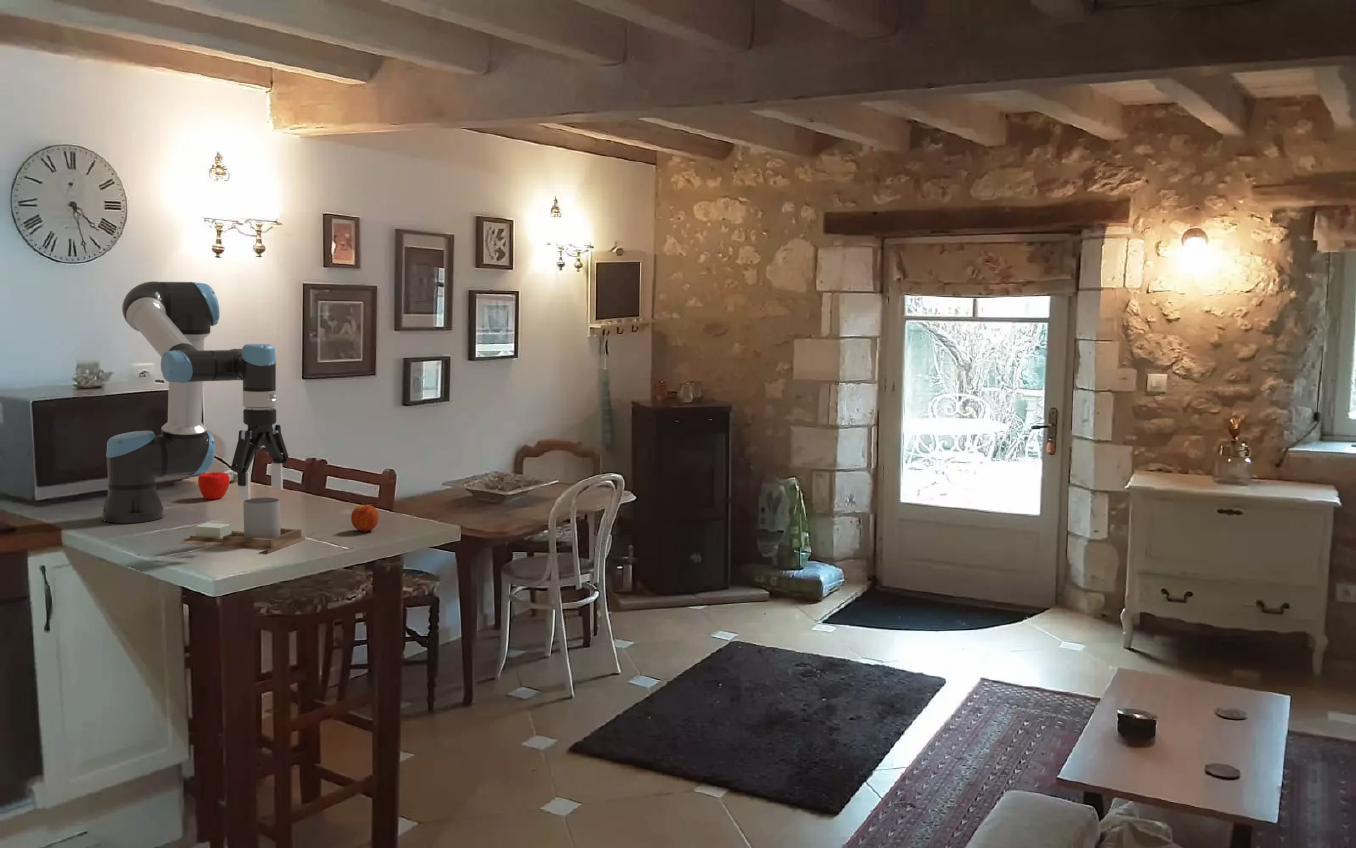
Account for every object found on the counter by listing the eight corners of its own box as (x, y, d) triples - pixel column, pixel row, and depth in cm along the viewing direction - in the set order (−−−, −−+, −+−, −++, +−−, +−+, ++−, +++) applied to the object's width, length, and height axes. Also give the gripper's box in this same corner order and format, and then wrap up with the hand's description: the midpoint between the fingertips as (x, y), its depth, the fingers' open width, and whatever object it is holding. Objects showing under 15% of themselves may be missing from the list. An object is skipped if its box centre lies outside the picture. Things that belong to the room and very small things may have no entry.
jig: (179, 547, 263) (178, 535, 263) (220, 533, 279) (220, 522, 279) (267, 553, 258) (267, 541, 258) (304, 539, 274) (304, 528, 273)
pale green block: (195, 538, 269) (194, 526, 268) (206, 534, 273) (206, 522, 273) (220, 540, 267) (219, 528, 267) (231, 536, 272) (231, 524, 271)
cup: (257, 546, 262) (256, 505, 261) (237, 541, 266) (236, 501, 265) (287, 540, 269) (286, 500, 268) (267, 535, 273) (266, 496, 272)
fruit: (350, 529, 287) (349, 499, 286) (377, 527, 290) (376, 498, 289) (352, 534, 281) (352, 504, 280) (380, 533, 283) (379, 502, 283)
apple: (222, 501, 322) (221, 475, 321) (192, 501, 322) (192, 475, 321) (235, 496, 331) (234, 471, 330) (206, 495, 331) (205, 470, 330)
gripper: (242, 414, 251) (243, 504, 253) (302, 403, 275) (303, 486, 278) (213, 412, 252) (215, 502, 255) (275, 402, 276) (276, 484, 279)
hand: (261, 494), depth 266 cm, fingers open, 13 cm apart
